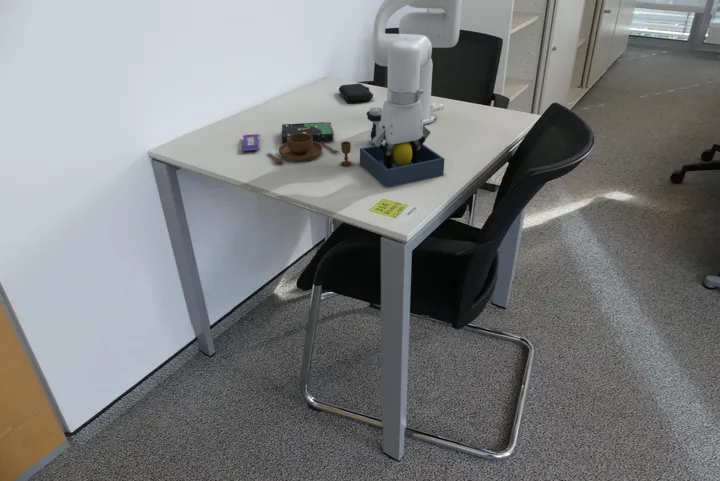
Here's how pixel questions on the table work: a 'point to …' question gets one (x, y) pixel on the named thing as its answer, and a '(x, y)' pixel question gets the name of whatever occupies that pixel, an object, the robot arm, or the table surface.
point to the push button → (375, 122)
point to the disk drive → (309, 131)
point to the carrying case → (355, 93)
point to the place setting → (307, 149)
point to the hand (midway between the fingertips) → (400, 164)
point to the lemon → (402, 154)
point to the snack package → (250, 142)
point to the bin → (425, 168)
